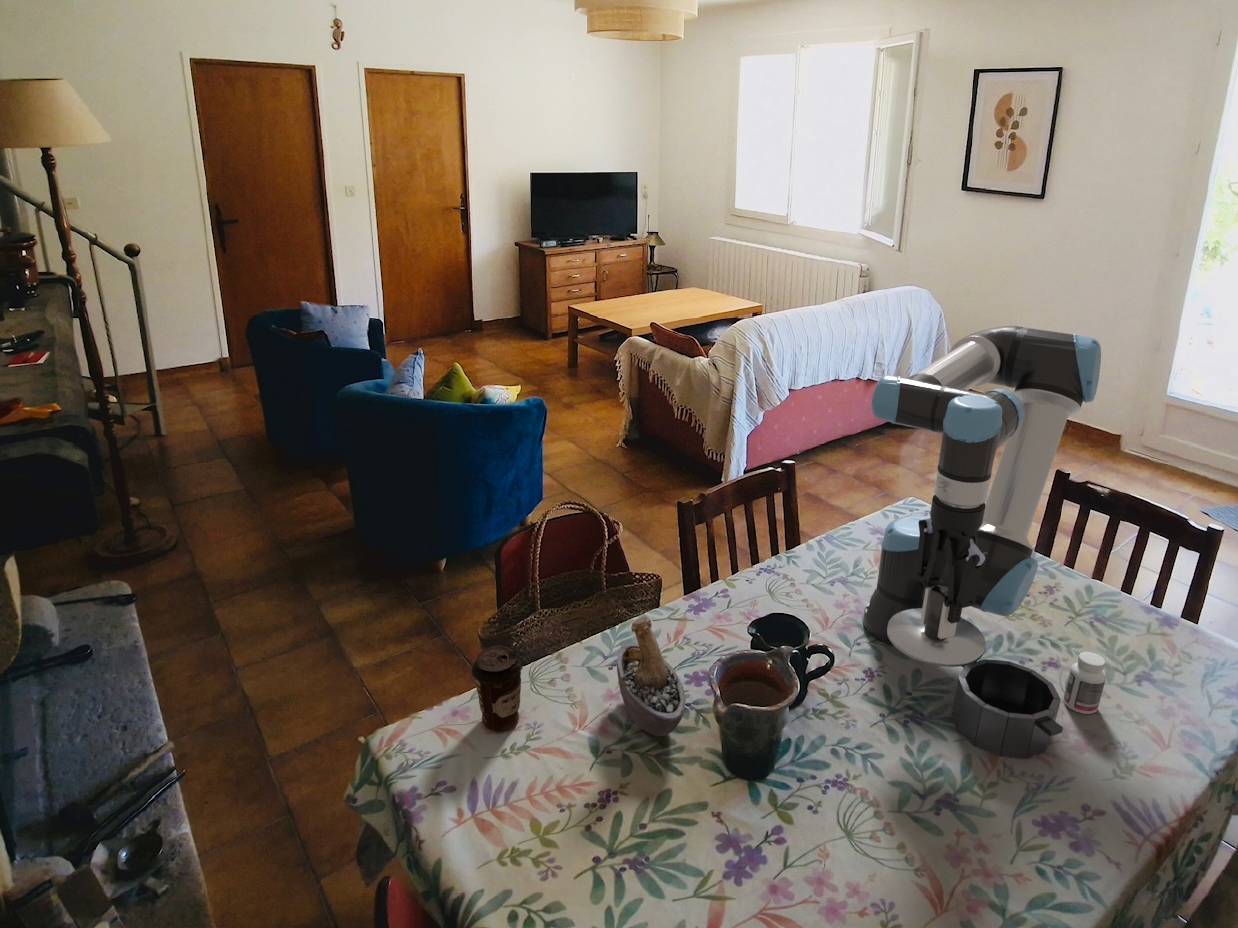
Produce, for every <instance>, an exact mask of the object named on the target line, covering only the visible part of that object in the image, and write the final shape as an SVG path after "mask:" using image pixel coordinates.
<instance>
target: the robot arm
mask: <svg viewBox="0 0 1238 928" xmlns="http://www.w3.org/2000/svg"><path fill="white" fill-rule="evenodd" d="M1101 363H1102V347H1101V344H1100V342H1099V341H1098V340H1097V339H1096V338H1095V337H1094V338H1093V337H1089V336H1084V335H1080V334H1076V333H1073V334H1072V333H1064V332H1058V331H1052V330H1051V331H1050V330H1046V329H1045V330H1043V329H1037V328H1032V327H1031V328H1029V327H1023V326H1017V325H1006V326H997V327H992V328H987V329H984V330H980V331H977V332H974V333H970V334H968V335H967V336H965V337H963V338H960V339H959V340H958V341H957V342H955V343H954V344H953V345H952V347H951V348H950V350H949V352H948V353H946V354H945V355H943V356H941V357H939V358H938V359H936V360H935V361H933V362H932V363H929V364H928V365H927V366H924V368H921V369H920V370H919V371H917V372H915V373H913V374H912V375H910V376H909V377H901V376H900V375H895V376H894V375H884V376H882V377H881V378H880V379H879V380H878V381H877V383H876V385H875V387H874V390H873V392H872V398H871V411H872V415H873V416H874V417H875V418H876V419H878V420H882V421H885V422H890V423H891V424H893V425H895V424H896V425H901V426H905V427H908V428H909V427H911V428H915V429H919V430H924V431H927V432H928V431H929V432H933V433H937V434H942V435H941V441H940V442H941V443H940V448H939V456H938V462H937V469H936V476H935V482H934V487H933V488H934V489H933V493H934V495H933V496H932V499H931V506H930V511H929V516H928V515H907V516H903V517H899V518H896V519H893V520H892V521H891V522H889V524H887V526H886V528H885V531H884V534H883V540H882V541H881V544H880V545H881V551H880V558H879V567H878V575H877V581H876V582H877V583H876V587H875V590H874V592H873V594H871V597H870V598H869V599H870V600H869V602H867V604H866V606H865V608H864V611H863V619H862V622H863V623H862V624H863V626H864V628H865V629H866V630H867V632H868V633H869V634H870V635H872V636H873V637H874V638H876V639H877V640H879V641H881V642H883V643H886V644H888V645H891V646H894V645H893V644H892V642H891V641H890V639H889V637H888V634H887V627H888V623H889V620H890V619H891V618H892V617H893V616H894V615H895V614H897V613H899V612H901V611H905V610H909V609H917V608H922V615H921V621H920V622H921V623H922V624H923V625H924V624H926V618H927V611H928V605H929V599H930V593H931V588H932V587H935V586H945V587H948V601H945V602H943V607H942V613H941V619H940V625H939V631H938V637H939V638H940V639H943V638H947V637H952V636H955V631H956V625H957V622H959V621H960V617H961V618H962V611H963V609H964V608H969V607H972V608H974V609H977V610H980V611H981V612H983V613H991V614H993V615H994V614H995V615H997V616H1001V617H1008V616H1010V615H1013V614H1014V613H1015V612H1016V611H1017V610H1018V609H1019V607H1020V606H1021V605H1022V604H1023V602H1024V600H1025V599H1026V597H1027V595H1028V594H1029V592H1030V589H1031V586H1032V584H1033V582H1034V580H1035V577H1036V573H1037V571H1038V567H1039V564H1038V560H1036V559H1035V558H1034V557H1032V555H1033V551H1034V548H1033V545H1032V544H1031V542H1030V541H1029V539H1028V537H1029V534H1030V531H1031V528H1032V526H1033V525H1032V524H1033V522H1034V519H1035V516H1036V513H1037V510H1038V506H1039V504H1040V502H1041V499H1042V495H1043V492H1044V489H1045V486H1046V483H1047V480H1048V479H1049V474H1050V471H1051V468H1052V466H1053V463H1054V459H1055V456H1056V454H1057V451H1058V447H1059V444H1060V442H1061V439H1062V436H1063V432H1064V430H1065V426H1066V423H1067V421H1068V418H1069V417H1071V416H1073V415H1076V414H1077V413H1079V412H1080V410H1081V409H1082V405H1083V403H1091V402H1093V401H1094V400H1095V396H1096V394H1097V391H1098V386H1099V380H1100V379H1099V378H1100V371H1101ZM985 384H993V385H998V386H1001V387H1007V388H1011V389H1014V391H1013V392H1012V391H1010V390H1007V389H1003V388H995V389H990V390H987V391H984V392H980V391H973V390H970V389H971V388H973V387H977V386H983V385H985ZM1004 442H1005V445H1004V447H1003V450H1002V453H1001V455H1000V459H999V462H998V465H997V468H996V471H995V473H994V477H993V479H992V482H991V477H992V471H993V466H994V462H995V457H996V452H997V449H999V448H1000V446H1001V445H1003V444H1004ZM990 483H991V484H990Z"/></svg>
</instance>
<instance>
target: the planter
mask: <svg viewBox="0 0 1238 928" xmlns="http://www.w3.org/2000/svg"><path fill="white" fill-rule="evenodd" d="M652 625H653V624H652V621H651V619H650V618H648V617H646V616H645V617H644V616H642V617H639V618H636V619H635V620H634V621H633V622H632V624H631V628H630V629H631V631H632V632H634V635H635V637H636V640H637V642H638V643H637V642H632V641H628V642H625V643H622V644H621V647H620V649H619V650H618V654H617V658H616V671H617V679H618V685H619V692H620V694H621V698H622V700H623V703H624V706H625V708H626V710H627V713H628V715H629V716H630V718H631V719H632V720H633V721H634V722H635V724H636V725H637V726H638V727H640V729H642V730H643V731H645V732H647V733H648V734H651V735H652V736H655V737H665V736H667V735H669V734H671V733H672V732H673V731H674V730H676V729H677V728H678V726H679V724H680V723H681V720H682V719H683V716H684V713H685V710H686V709H685V708H686V703H687V701H686V694H685V689H684V687H683V684H682V682H681V679H680V678H679V675H678V673H677V672H676V671H675V669H674V668H673V667H672V665H671V664H670V663H669V662H668V661H667V660H666V659H664V658H663V655H662V652H661V649H660V646H659V643H658V642H657V639H656V637H655V634H654V632H653V630H652Z"/></svg>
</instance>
